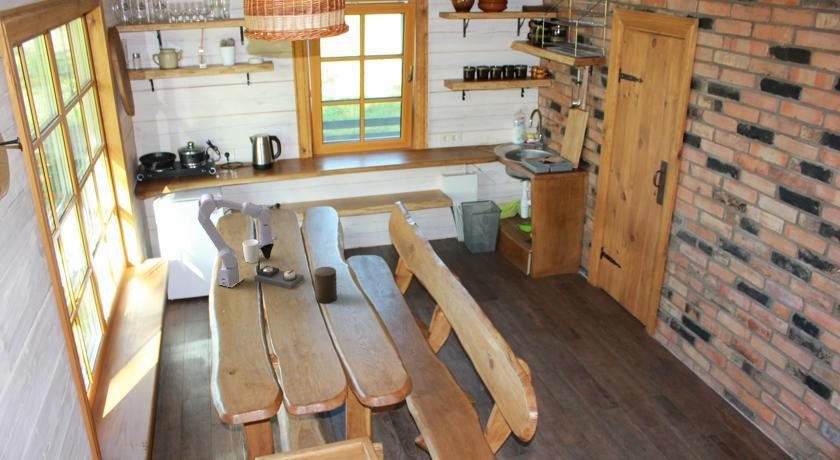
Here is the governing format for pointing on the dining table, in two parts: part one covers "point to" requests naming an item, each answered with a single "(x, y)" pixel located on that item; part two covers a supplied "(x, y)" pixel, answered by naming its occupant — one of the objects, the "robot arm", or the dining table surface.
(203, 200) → the robot arm
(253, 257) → the white cup
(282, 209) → the dining table surface
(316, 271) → the pillar candle
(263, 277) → the console
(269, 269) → the press knob
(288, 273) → the dial knob
